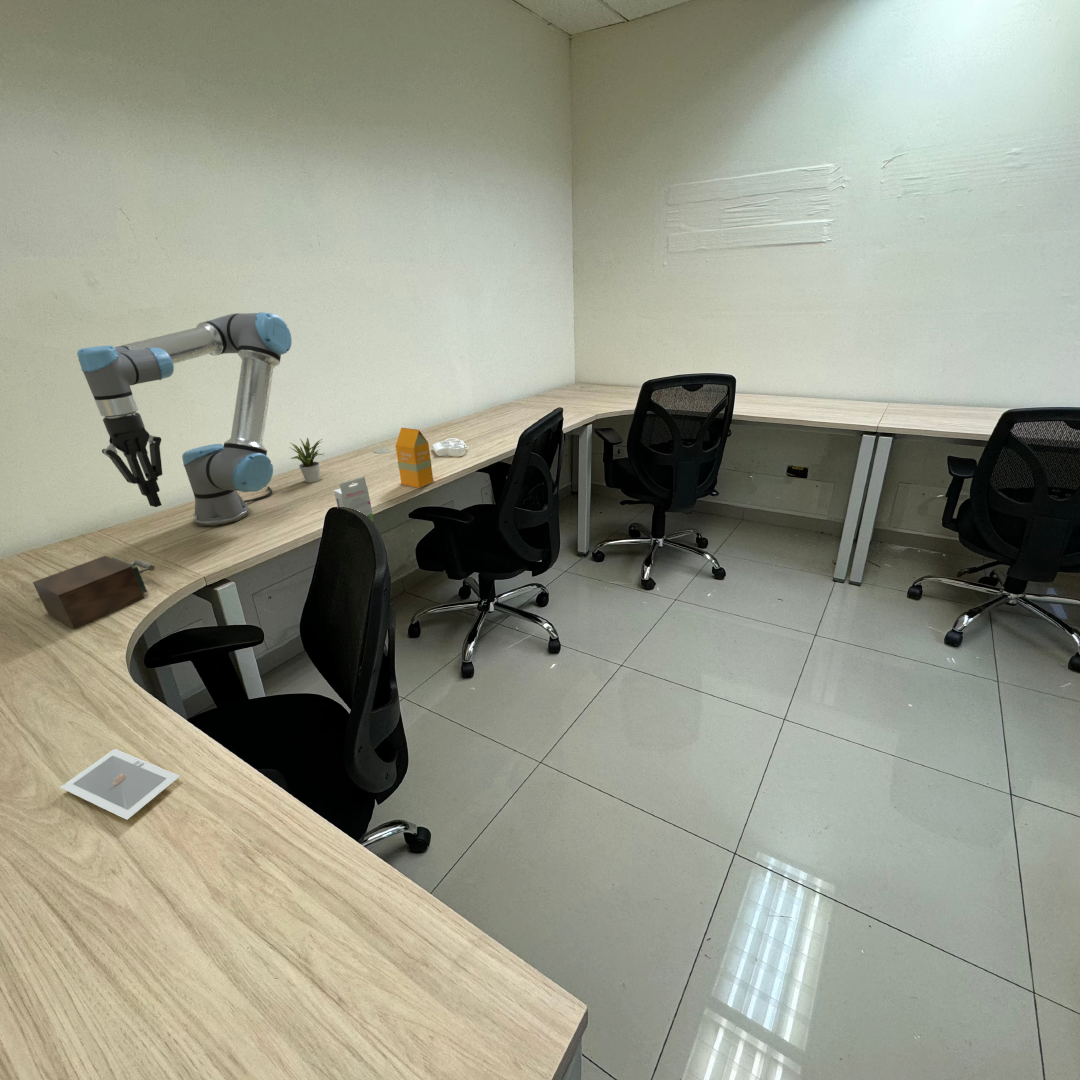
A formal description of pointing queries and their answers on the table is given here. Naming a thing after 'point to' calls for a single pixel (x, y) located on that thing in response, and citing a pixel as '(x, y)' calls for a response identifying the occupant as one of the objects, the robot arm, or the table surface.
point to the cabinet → (89, 591)
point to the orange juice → (413, 458)
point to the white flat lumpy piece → (450, 447)
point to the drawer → (140, 571)
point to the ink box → (354, 496)
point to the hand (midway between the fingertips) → (155, 505)
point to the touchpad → (120, 783)
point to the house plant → (308, 461)
